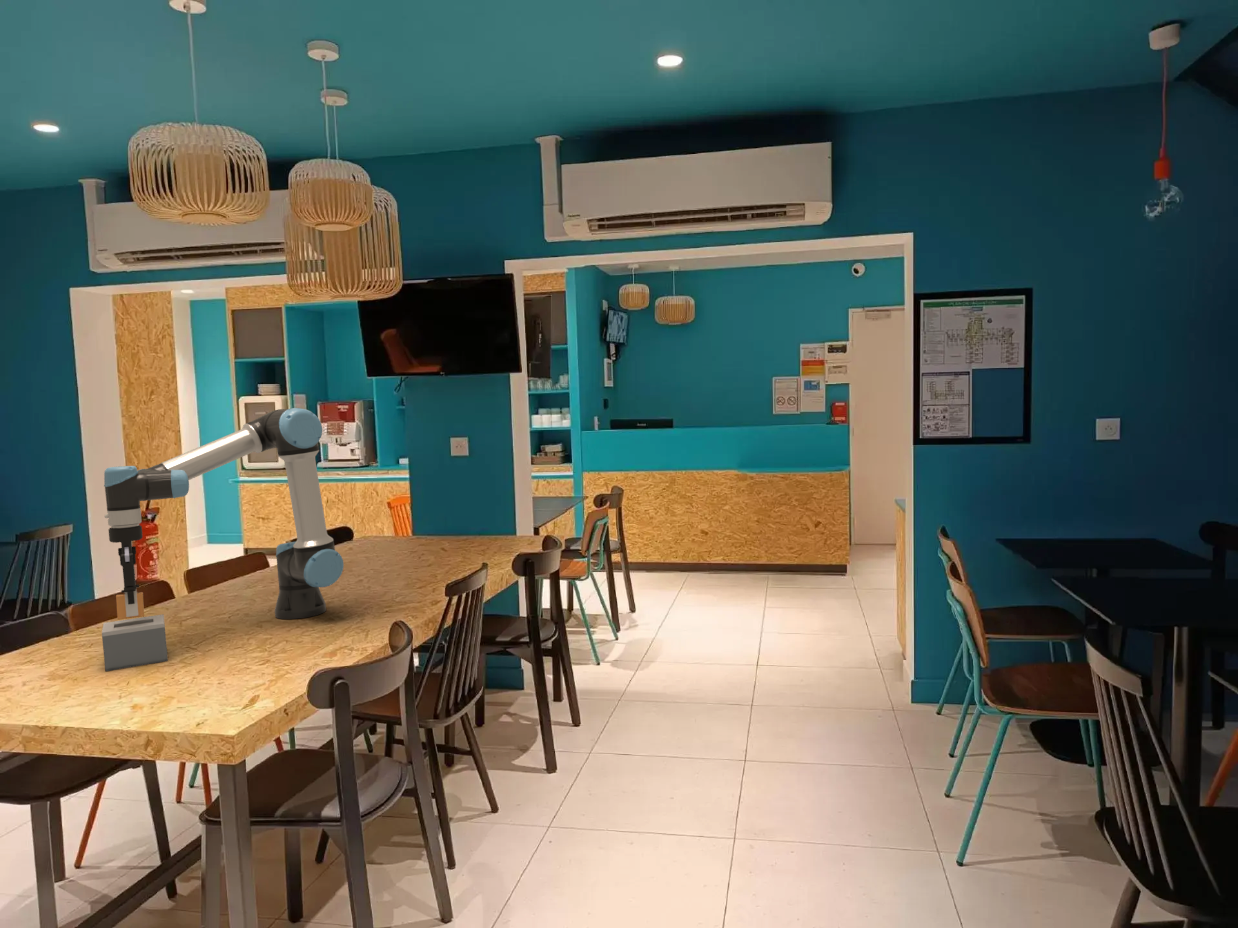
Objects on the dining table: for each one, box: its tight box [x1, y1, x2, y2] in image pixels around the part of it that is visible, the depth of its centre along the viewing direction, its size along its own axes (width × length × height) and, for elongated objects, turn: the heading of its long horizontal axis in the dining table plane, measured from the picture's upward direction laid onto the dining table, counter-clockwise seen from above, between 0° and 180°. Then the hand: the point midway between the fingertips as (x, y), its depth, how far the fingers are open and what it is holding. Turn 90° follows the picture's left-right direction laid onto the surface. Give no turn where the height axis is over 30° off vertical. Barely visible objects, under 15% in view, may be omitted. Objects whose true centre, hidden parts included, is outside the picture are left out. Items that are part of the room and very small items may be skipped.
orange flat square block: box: [115, 591, 145, 621], centre depth 222 cm, size 6×2×6 cm, turn 119°
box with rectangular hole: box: [101, 614, 169, 672], centre depth 223 cm, size 14×12×10 cm
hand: (132, 614), depth 222 cm, fingers closed on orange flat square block, 2 cm apart
